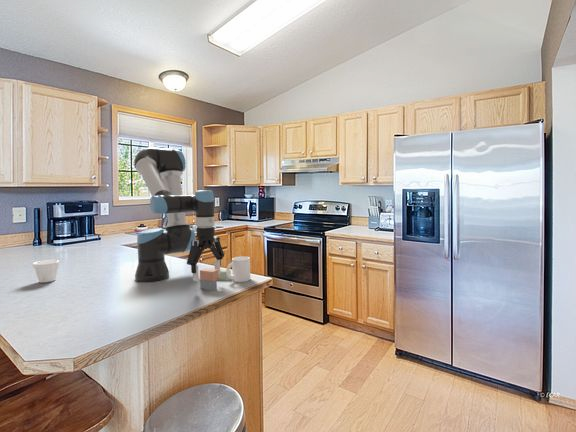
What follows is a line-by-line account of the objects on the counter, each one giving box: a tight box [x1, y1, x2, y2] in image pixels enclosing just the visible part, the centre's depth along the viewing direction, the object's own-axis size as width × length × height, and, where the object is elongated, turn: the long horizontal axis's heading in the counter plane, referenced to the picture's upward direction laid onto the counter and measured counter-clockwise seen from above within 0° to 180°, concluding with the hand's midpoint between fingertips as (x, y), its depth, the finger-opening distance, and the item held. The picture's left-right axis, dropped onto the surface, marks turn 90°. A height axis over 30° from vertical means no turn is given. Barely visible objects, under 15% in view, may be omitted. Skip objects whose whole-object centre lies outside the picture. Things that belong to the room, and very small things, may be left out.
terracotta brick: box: [199, 267, 220, 281], centre depth 136 cm, size 7×4×4 cm, turn 65°
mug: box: [225, 255, 251, 283], centre depth 147 cm, size 12×8×10 cm
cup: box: [32, 259, 60, 284], centre depth 149 cm, size 10×10×9 cm
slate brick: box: [199, 279, 218, 292], centre depth 136 cm, size 7×4×4 cm, turn 49°
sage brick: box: [218, 268, 232, 281], centre depth 151 cm, size 7×4×4 cm, turn 77°
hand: (207, 277), depth 137 cm, fingers open, 11 cm apart
